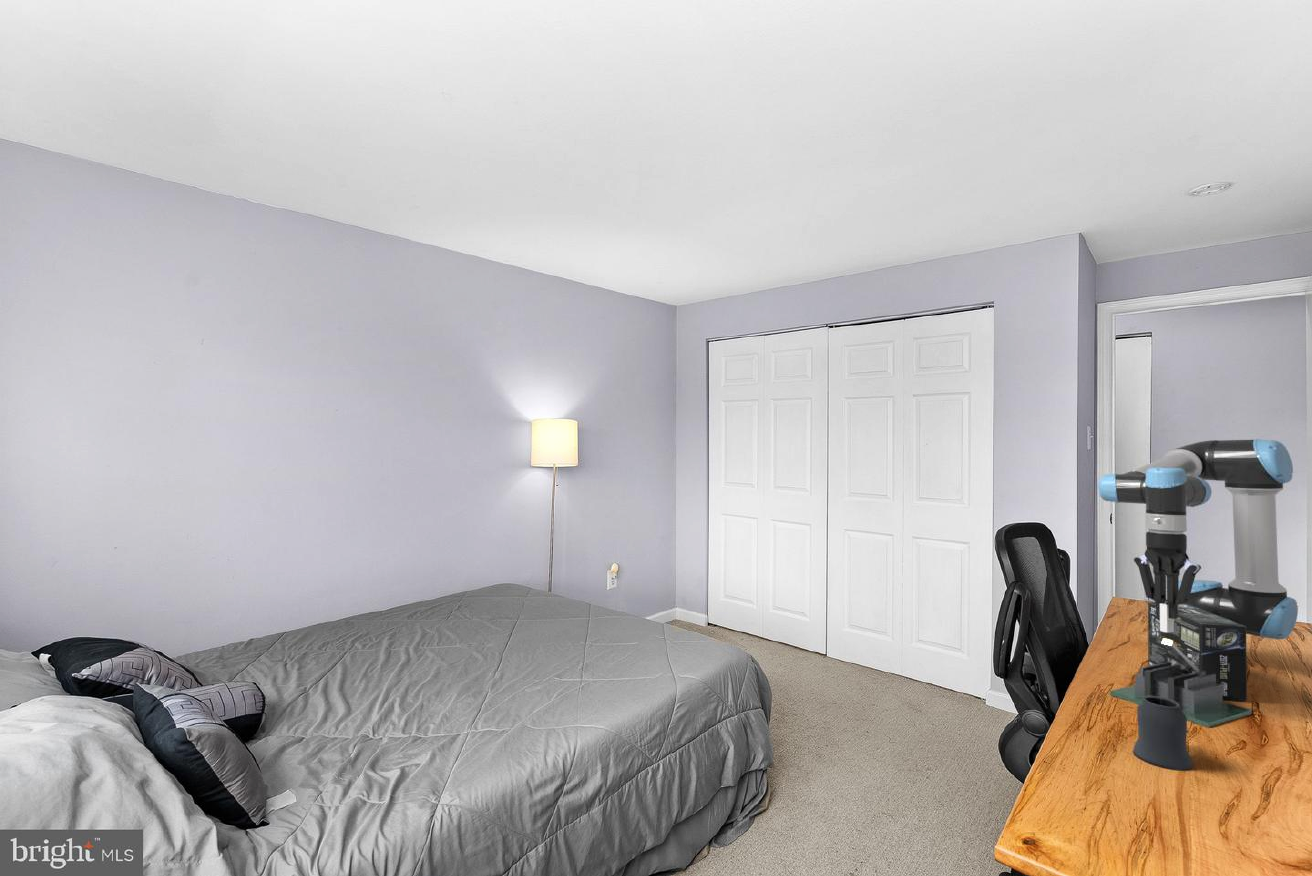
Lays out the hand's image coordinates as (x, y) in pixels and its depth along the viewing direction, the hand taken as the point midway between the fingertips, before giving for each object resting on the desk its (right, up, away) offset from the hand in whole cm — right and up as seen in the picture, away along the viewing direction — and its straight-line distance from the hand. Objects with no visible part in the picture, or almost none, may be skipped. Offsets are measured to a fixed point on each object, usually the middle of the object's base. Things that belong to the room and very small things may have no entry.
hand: (1166, 631), depth 147 cm
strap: (+5, -8, +2) cm, 10 cm away
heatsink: (+4, -18, +1) cm, 18 cm away
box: (+20, -19, +15) cm, 31 cm away
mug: (-22, -17, -25) cm, 37 cm away
